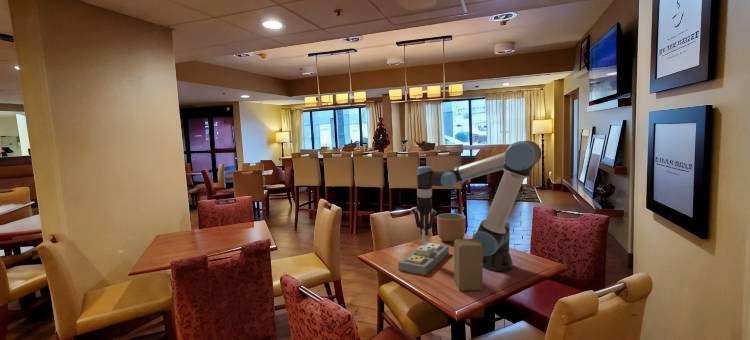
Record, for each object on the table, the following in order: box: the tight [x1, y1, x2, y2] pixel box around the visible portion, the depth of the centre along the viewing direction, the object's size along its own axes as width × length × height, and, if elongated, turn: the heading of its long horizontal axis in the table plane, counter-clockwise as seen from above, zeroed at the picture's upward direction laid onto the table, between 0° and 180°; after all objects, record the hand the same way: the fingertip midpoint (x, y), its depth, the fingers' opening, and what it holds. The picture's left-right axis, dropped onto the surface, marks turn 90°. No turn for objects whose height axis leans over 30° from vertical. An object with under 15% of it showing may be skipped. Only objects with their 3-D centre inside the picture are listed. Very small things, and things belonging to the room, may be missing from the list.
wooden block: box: [453, 238, 484, 292], centre depth 156 cm, size 10×10×20 cm
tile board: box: [398, 242, 449, 276], centre depth 188 cm, size 14×34×4 cm, turn 150°
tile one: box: [425, 242, 442, 251], centre depth 197 cm, size 7×7×4 cm
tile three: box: [407, 255, 426, 265], centre depth 178 cm, size 7×7×4 cm
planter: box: [436, 212, 467, 244], centre depth 221 cm, size 17×17×15 cm
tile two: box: [415, 244, 434, 257], centre depth 187 cm, size 7×7×4 cm
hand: (424, 241), depth 187 cm, fingers closed
